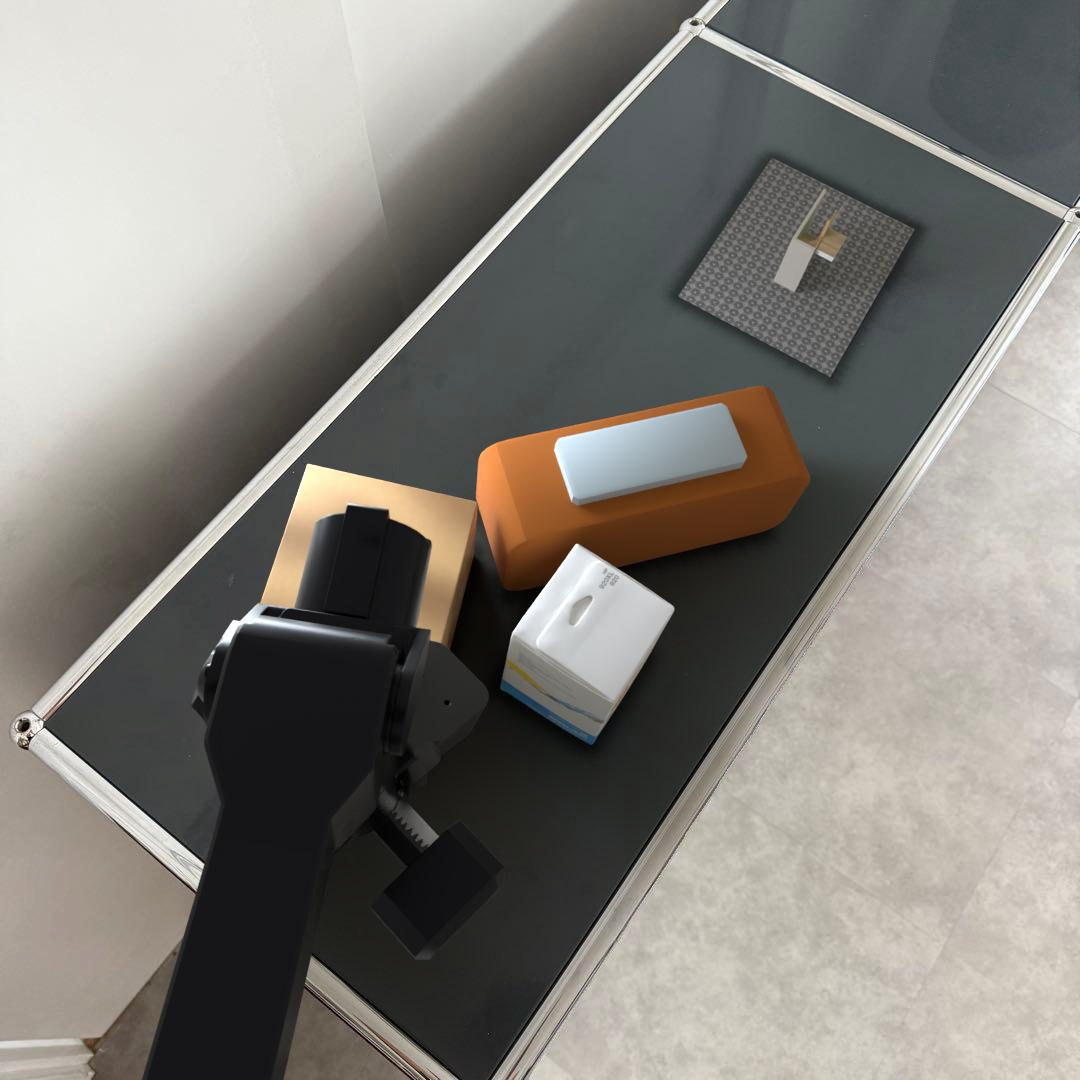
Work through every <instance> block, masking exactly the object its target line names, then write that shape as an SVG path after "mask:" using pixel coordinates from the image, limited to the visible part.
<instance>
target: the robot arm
mask: <svg viewBox="0 0 1080 1080" xmlns="http://www.w3.org/2000/svg"><path fill="white" fill-rule="evenodd" d="M431 549H432V542H431V540H429V539H427V538H425V537H424V536H423V535H422V534H421V533H419V532H418V531H417V530H415V529H413V528H411V527H409V526H408V525H405V524H403V523H400V522H398V521H395V520H392V519H390V515H389V509H384V508H377V507H371V506H364V505H358V504H352V503H348V504H347V507H346V511H345V513H336V514H331V515H328V516H324V517H323V518H321V519H319V520H318V521H317V522H316V523H315V526H314V530H313V534H312V538H311V542H310V546H309V550H308V554H307V558H306V562H305V566H304V570H303V575H302V579H301V583H300V587H299V591H298V595H297V599H296V603H295V607H294V608H288V607H281V606H275V605H268V604H262V603H261V602H257V603H256V605H254V606H253V607H252V609H250V611H248V613H246V614H245V616H243V617H242V619H240V620H236V619H233V620H232V621H231V623H230V624H229V625H228V627H227V629H226V630H225V632H224V633H223V635H222V637H221V638H220V640H219V641H218V642H217V644H216V645H215V647H214V649H213V650H212V652H211V653H210V654H209V656H208V658H207V659H206V660H205V663H203V665H202V667H201V669H200V671H199V674H198V679H197V684H196V689H195V690H194V692H193V695H192V700H191V703H190V704H191V706H190V707H191V709H193V711H194V712H195V713H196V715H197V716H198V717H199V718H200V719H201V721H202V722H203V723H204V725H205V727H206V728H205V733H204V737H203V747H204V751H205V754H206V758H207V761H208V764H209V768H210V771H211V775H212V779H213V782H214V785H215V788H216V793H217V795H218V796H217V797H218V799H219V801H220V803H219V809H218V811H217V815H216V820H215V825H214V828H213V832H212V836H211V840H210V843H209V846H208V849H207V854H206V857H205V859H204V864H203V868H202V870H201V875H200V878H199V881H198V884H197V888H196V892H195V894H194V898H193V902H192V905H191V909H190V912H189V915H188V919H187V921H186V922H187V923H186V926H185V929H184V932H183V936H182V939H181V943H180V947H179V950H178V954H177V957H176V960H175V963H174V967H173V971H172V974H171V977H170V981H169V985H168V988H167V991H166V995H165V997H164V1002H163V1005H162V1008H161V1012H160V1015H159V1018H158V1022H157V1025H156V1029H155V1032H154V1036H153V1038H152V1039H153V1040H152V1044H151V1047H150V1050H149V1054H148V1057H147V1060H146V1063H145V1067H144V1070H143V1074H142V1077H141V1080H285V1075H286V1071H287V1066H288V1062H289V1057H290V1053H291V1048H292V1045H293V1044H292V1043H293V1039H294V1035H295V1030H296V1026H297V1021H298V1017H299V1014H300V1009H301V1004H302V999H303V995H304V991H305V986H306V981H307V978H308V972H309V968H310V963H311V959H312V955H313V951H314V946H315V941H316V938H317V934H318V933H317V932H318V928H319V924H320V920H321V915H322V911H323V906H324V902H325V898H326V894H327V888H328V884H329V881H330V880H329V879H330V876H331V871H332V868H333V863H334V860H335V856H336V855H337V854H339V852H340V851H342V849H344V847H346V845H348V844H349V843H350V842H351V841H352V840H357V839H361V838H363V837H365V836H369V835H370V834H371V833H373V835H375V836H376V837H377V839H379V841H380V842H381V843H382V844H383V845H384V846H385V847H386V848H387V849H388V850H389V851H390V852H391V854H392V855H393V856H394V857H395V858H396V859H397V860H398V861H399V863H400V864H402V866H403V867H404V868H405V869H404V870H403V871H402V872H401V873H400V874H399V875H397V876H396V878H394V879H393V880H392V881H391V883H390V884H388V885H387V886H386V887H385V889H383V890H382V891H381V893H379V895H378V896H377V897H376V898H375V900H374V901H373V902H372V903H371V904H370V905H369V908H370V909H371V911H372V912H373V913H374V914H375V916H376V917H377V918H378V919H379V920H380V921H381V923H382V924H383V925H384V927H386V928H387V930H388V931H389V932H390V933H391V934H392V935H393V936H394V937H395V939H396V940H397V941H398V942H399V943H400V944H401V945H402V946H403V947H404V948H405V950H406V951H407V952H408V953H409V954H410V955H411V956H412V957H413V959H414V960H415V961H417V960H422V961H423V960H425V961H427V960H428V961H429V960H430V961H431V960H432V959H433V958H435V956H436V955H438V953H439V952H441V951H442V950H443V948H444V947H445V946H446V945H448V943H449V942H450V941H451V940H452V939H454V937H456V935H457V934H459V932H460V931H461V930H462V929H464V927H465V926H466V925H467V924H468V923H469V922H470V921H471V920H472V919H473V918H474V917H475V916H476V915H477V914H478V913H479V912H480V911H481V910H482V909H483V908H484V907H485V906H486V905H487V904H488V903H489V902H490V901H491V900H492V899H493V898H494V897H495V896H496V895H497V893H499V892H500V891H501V889H503V887H504V885H505V866H504V865H503V863H502V862H501V861H499V859H498V858H497V857H496V856H495V855H494V854H493V853H492V852H491V850H489V849H488V848H487V846H486V845H485V844H484V843H483V842H482V841H481V840H480V839H479V838H478V837H477V836H476V835H475V834H474V833H473V832H472V831H471V829H470V828H469V827H468V826H467V825H466V824H465V823H464V822H463V821H462V820H461V819H458V820H457V821H456V822H454V823H453V824H452V825H450V826H448V828H446V829H445V831H443V832H442V833H441V834H440V835H438V834H437V833H436V832H435V830H434V829H432V828H431V827H430V825H429V824H428V823H427V822H426V821H425V820H424V819H423V818H422V817H421V816H420V814H419V813H418V812H417V811H416V810H415V809H414V808H413V807H412V806H411V804H409V803H408V802H407V801H406V800H405V798H402V796H401V795H400V794H401V793H402V792H404V794H403V795H405V796H406V797H407V798H408V799H410V798H412V797H413V796H414V795H415V794H416V793H417V792H418V791H419V790H420V789H422V788H423V787H424V786H425V785H426V784H427V783H428V773H429V772H430V771H431V770H433V768H435V766H437V765H438V764H439V763H440V762H441V757H442V756H443V755H444V754H446V753H447V752H448V751H449V750H451V748H453V747H454V746H455V745H457V744H458V743H459V742H460V741H461V740H463V739H465V738H466V737H467V736H469V734H470V733H471V732H472V730H473V728H474V727H475V725H476V724H477V722H478V720H479V718H480V717H481V715H482V713H483V711H484V710H485V708H486V707H487V705H488V702H489V698H490V696H489V691H488V689H487V687H486V686H485V684H483V682H482V681H480V680H479V678H477V676H476V675H475V674H474V673H473V672H472V671H471V670H470V668H468V667H467V666H466V665H465V664H464V663H463V662H462V661H461V660H460V659H459V658H458V657H457V656H456V655H455V654H454V653H453V652H452V651H451V649H450V650H449V649H448V648H447V647H446V646H444V645H443V644H441V643H439V642H435V641H431V640H430V635H431V630H430V629H424V628H417V622H418V617H419V611H420V606H421V601H422V596H423V591H424V585H425V580H426V575H427V570H428V565H429V559H430V554H431ZM395 814H396V815H395ZM393 815H395V817H394V820H395V822H396V821H399V820H400V823H399V825H400V826H401V827H403V826H405V825H406V827H405V828H404V831H405V832H409V831H411V832H410V835H409V836H410V837H411V838H413V837H415V836H416V838H415V840H414V841H415V843H420V842H421V844H420V848H421V849H423V848H424V849H425V850H424V851H423V852H422V851H421V850H420V849H419V848H418V847H417V846H416V845H415V844H414V843H413V842H412V840H411V839H410V838H409V837H408V836H407V835H406V834H405V832H404V831H402V829H400V828H399V826H398V825H397V824H396V823H395V822H394V821H393V820H392V818H391V817H390V816H393ZM426 847H427V848H426Z"/></svg>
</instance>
